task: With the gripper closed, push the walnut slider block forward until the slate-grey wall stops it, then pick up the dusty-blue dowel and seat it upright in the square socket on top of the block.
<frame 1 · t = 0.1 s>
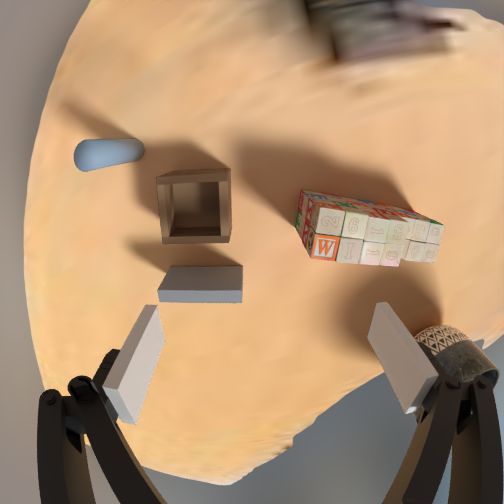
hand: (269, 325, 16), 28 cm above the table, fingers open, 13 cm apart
wall: (206, 271, 45), on the table
stack of blocks: (359, 217, 42), on the table
dowel: (133, 150, 37), on the table
slider block: (197, 204, 37), point 3 cm above the table, slide at 0.0 cm
planter: (420, 341, 53), on the table
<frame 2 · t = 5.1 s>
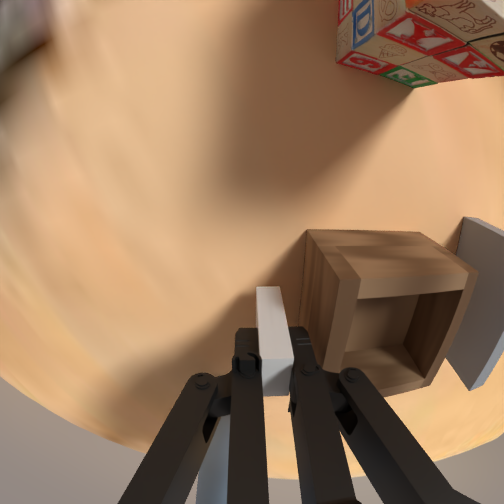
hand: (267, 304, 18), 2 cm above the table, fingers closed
wall: (455, 281, 19), on the table
dowel: (228, 387, 23), on the table
slider block: (377, 314, 16), point 4 cm above the table, slide at 1.7 cm, touching gripper
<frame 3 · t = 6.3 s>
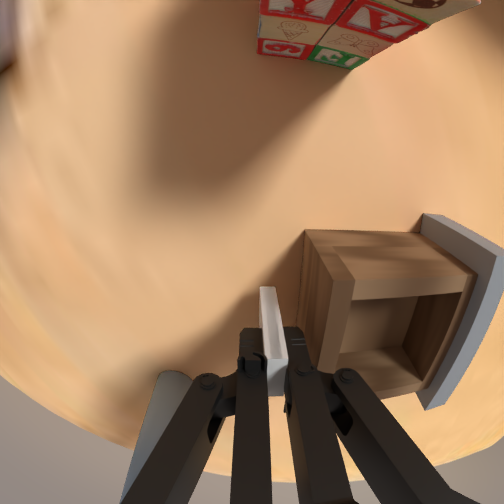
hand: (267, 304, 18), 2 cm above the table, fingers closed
wall: (417, 286, 19), on the table
dowel: (176, 383, 23), on the table
slider block: (375, 315, 16), point 3 cm above the table, slide at 6.5 cm, touching gripper, wall
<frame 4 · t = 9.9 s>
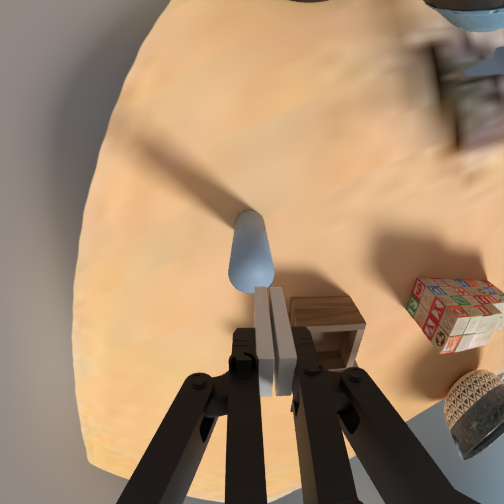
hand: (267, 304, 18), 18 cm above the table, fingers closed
stack of blocks: (451, 293, 40), on the table
dowel: (249, 224, 35), on the table
slider block: (322, 336, 37), point 4 cm above the table, slide at 6.5 cm
planter: (460, 381, 51), on the table
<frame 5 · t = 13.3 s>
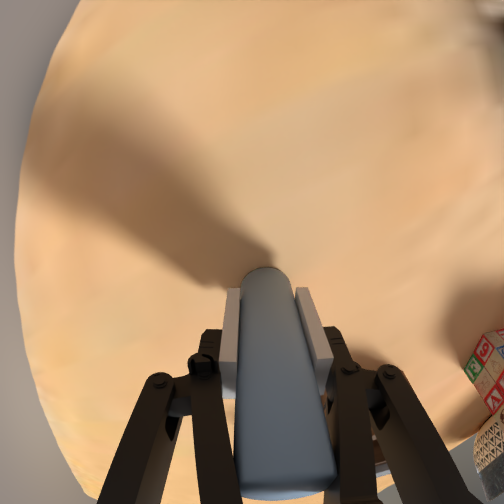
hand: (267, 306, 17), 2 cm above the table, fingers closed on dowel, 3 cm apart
dowel: (265, 290, 19), on the table, touching gripper
slider block: (363, 427, 22), point 4 cm above the table, slide at 6.5 cm
planter: (491, 417, 35), on the table
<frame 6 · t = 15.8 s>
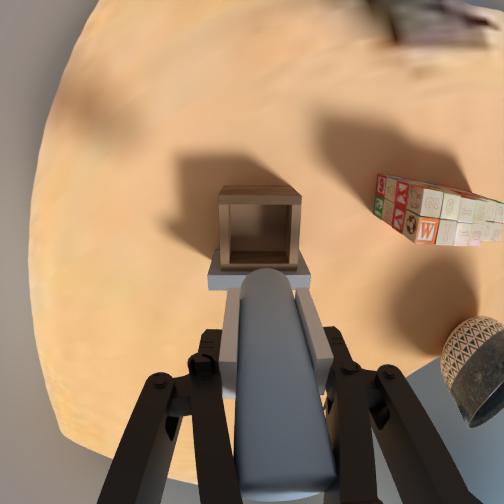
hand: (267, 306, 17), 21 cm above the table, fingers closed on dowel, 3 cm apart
wall: (257, 256, 39), on the table
stack of blocks: (428, 201, 37), on the table
dowel: (265, 291, 19), point 19 cm above the table, touching gripper
slider block: (258, 226, 34), point 3 cm above the table, slide at 6.5 cm
planter: (457, 334, 48), on the table
when the fingers open (8 cm above the table, at t = 18.5 s): dowel drops 2 cm, resting on slider block.
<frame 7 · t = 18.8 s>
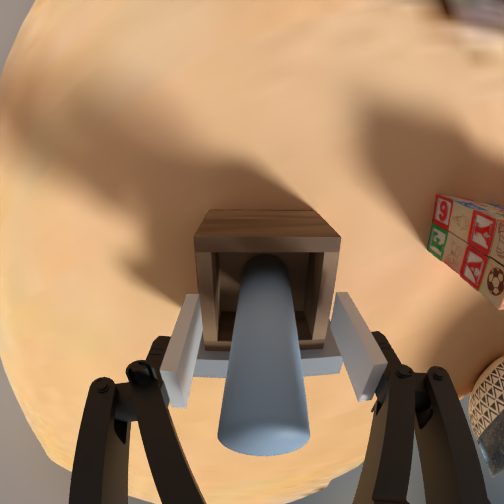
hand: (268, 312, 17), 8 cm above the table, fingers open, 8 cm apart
wall: (260, 311, 27), on the table
stack of blocks: (487, 227, 24), on the table
dowel: (265, 275, 22), point 3 cm above the table, touching slider block
slider block: (264, 277, 21), point 4 cm above the table, slide at 6.5 cm, touching dowel
planter: (487, 371, 35), on the table
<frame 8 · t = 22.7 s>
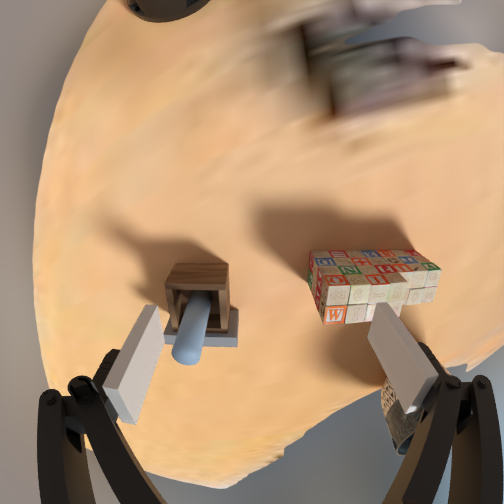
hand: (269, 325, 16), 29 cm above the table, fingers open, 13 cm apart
wall: (205, 313, 49), on the table
stack of blocks: (364, 265, 46), on the table
dowel: (201, 296, 44), point 3 cm above the table, touching slider block
slider block: (200, 298, 44), point 3 cm above the table, slide at 6.5 cm, touching dowel
planter: (402, 368, 57), on the table
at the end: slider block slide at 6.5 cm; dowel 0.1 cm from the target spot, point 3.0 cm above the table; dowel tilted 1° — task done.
